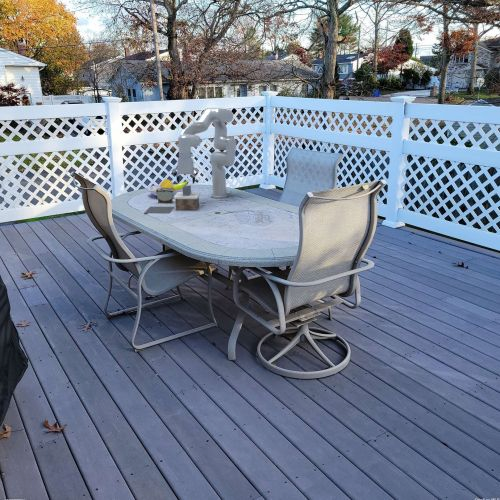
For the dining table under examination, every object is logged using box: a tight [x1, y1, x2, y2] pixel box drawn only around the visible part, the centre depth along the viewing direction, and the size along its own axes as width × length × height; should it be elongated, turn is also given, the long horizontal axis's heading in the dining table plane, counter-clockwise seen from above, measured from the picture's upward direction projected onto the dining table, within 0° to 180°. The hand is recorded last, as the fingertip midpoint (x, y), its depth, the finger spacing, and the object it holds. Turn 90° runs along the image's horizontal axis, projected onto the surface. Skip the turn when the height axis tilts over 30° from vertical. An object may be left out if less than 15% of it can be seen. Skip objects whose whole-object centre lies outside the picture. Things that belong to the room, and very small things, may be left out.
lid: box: [173, 185, 201, 200], centre depth 311 cm, size 15×15×6 cm
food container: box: [156, 188, 174, 204], centre depth 327 cm, size 12×6×10 cm, turn 84°
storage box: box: [174, 196, 200, 211], centre depth 313 cm, size 13×13×8 cm
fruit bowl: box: [147, 178, 189, 197], centre depth 347 cm, size 28×27×11 cm
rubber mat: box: [143, 206, 175, 215], centre depth 309 cm, size 16×16×1 cm
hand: (186, 183), depth 308 cm, fingers open, 9 cm apart
